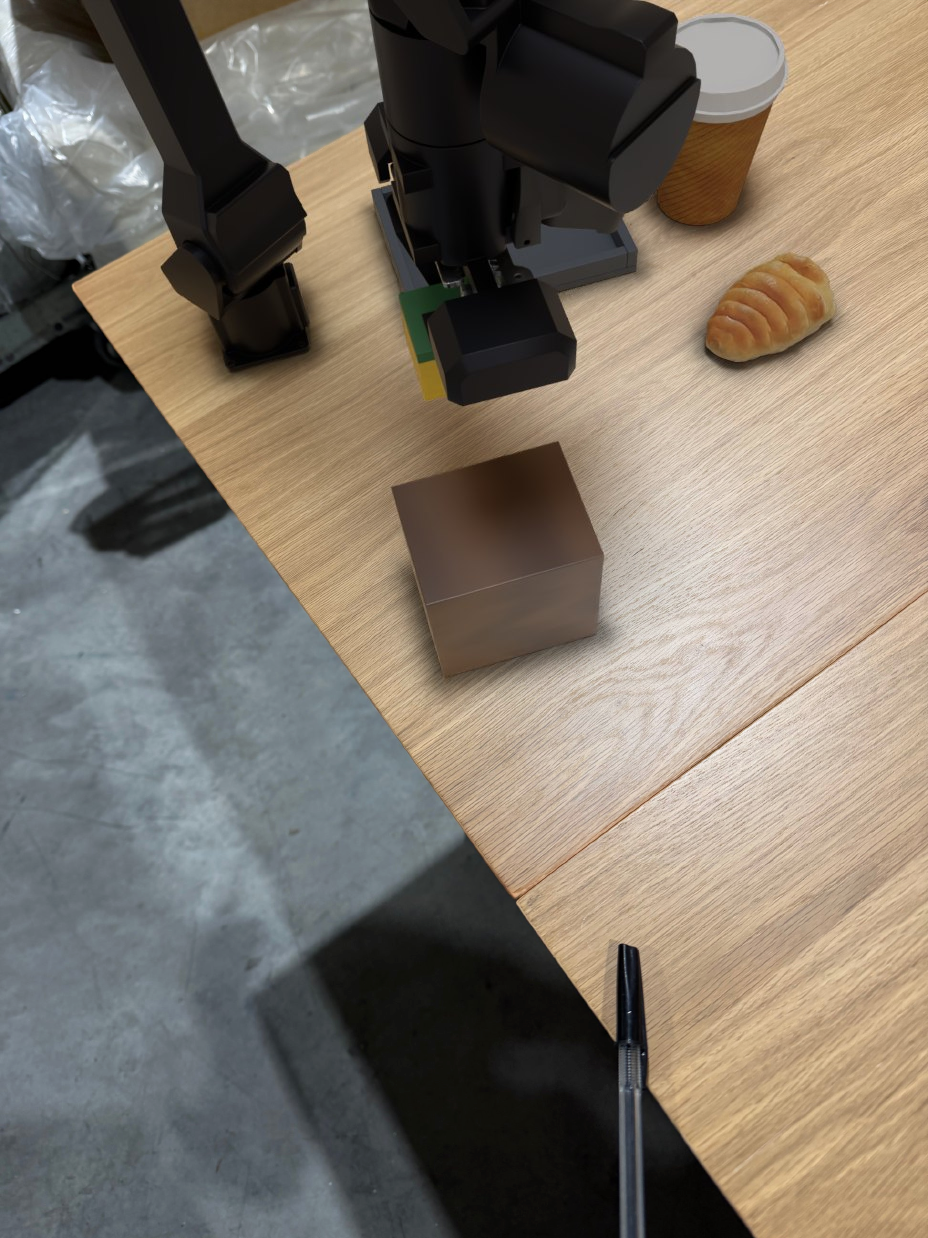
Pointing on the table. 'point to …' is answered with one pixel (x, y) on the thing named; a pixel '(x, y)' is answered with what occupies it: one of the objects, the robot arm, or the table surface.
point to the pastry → (771, 309)
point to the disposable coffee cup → (723, 113)
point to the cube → (502, 557)
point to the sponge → (425, 333)
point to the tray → (533, 253)
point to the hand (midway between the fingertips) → (473, 351)
